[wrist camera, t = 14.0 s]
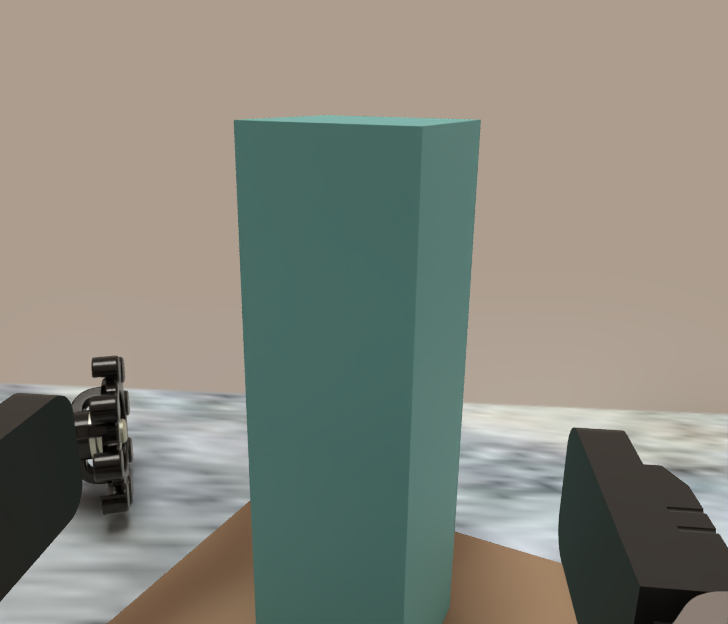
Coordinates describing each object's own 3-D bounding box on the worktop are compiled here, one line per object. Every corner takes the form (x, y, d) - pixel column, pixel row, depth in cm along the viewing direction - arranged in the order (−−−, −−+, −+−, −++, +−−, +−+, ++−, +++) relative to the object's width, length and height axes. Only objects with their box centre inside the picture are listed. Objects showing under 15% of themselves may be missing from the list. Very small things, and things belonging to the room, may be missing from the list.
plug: (257, 660, 20) (233, 120, 15) (327, 567, 23) (324, 115, 19) (400, 716, 18) (422, 125, 13) (449, 606, 22) (480, 119, 17)
